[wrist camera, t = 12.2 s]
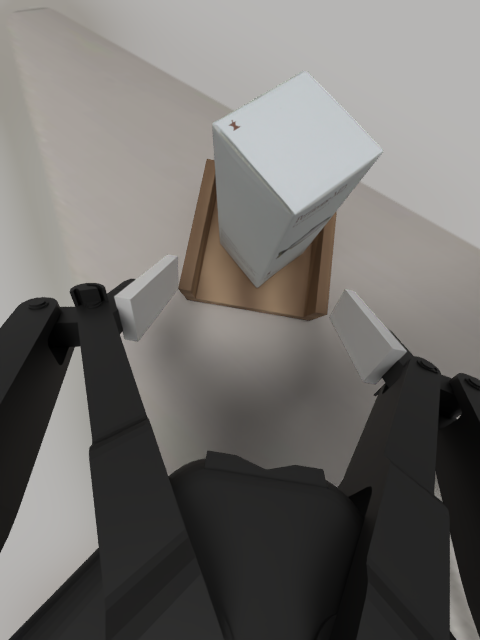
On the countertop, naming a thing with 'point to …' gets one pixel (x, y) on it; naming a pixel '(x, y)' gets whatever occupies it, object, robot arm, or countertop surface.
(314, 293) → the walnut caddy
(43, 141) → the countertop surface
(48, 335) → the robot arm
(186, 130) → the countertop surface
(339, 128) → the supplement box
